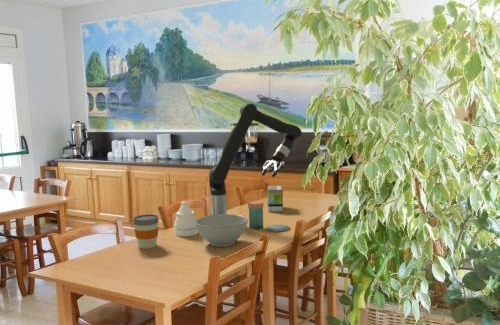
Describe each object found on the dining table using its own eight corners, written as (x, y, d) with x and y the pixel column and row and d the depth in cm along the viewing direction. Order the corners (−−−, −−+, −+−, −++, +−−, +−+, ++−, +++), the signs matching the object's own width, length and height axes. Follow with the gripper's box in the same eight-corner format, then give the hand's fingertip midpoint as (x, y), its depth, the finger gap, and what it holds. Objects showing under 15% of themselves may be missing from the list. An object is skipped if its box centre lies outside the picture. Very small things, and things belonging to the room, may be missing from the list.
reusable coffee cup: (135, 250, 245) (133, 221, 243) (134, 243, 257) (132, 215, 255) (161, 248, 248) (159, 218, 246) (158, 241, 260) (157, 213, 258)
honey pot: (193, 236, 267) (192, 204, 265) (171, 235, 270) (169, 203, 268) (200, 230, 280) (199, 199, 278) (179, 229, 282) (177, 198, 280)
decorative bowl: (237, 233, 271) (236, 212, 269) (256, 246, 246) (255, 222, 245) (189, 240, 261) (188, 217, 259) (205, 254, 236) (204, 229, 234)
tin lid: (255, 211, 276) (255, 204, 275) (248, 209, 280) (247, 203, 280) (263, 209, 280) (263, 202, 279) (256, 208, 284) (256, 201, 284)
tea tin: (256, 229, 278) (255, 208, 276) (249, 227, 282) (248, 207, 280) (263, 227, 281) (262, 207, 280) (256, 226, 285) (256, 205, 284)
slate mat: (272, 233, 269) (272, 231, 269) (263, 227, 281) (263, 226, 281) (293, 230, 274) (293, 228, 274) (283, 225, 286) (283, 223, 286)
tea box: (283, 211, 319) (283, 189, 318) (267, 212, 320) (267, 189, 318) (282, 206, 334) (282, 185, 332) (267, 207, 335) (267, 185, 333)
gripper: (269, 149, 298) (255, 170, 292) (286, 151, 287) (272, 172, 281) (275, 157, 302) (262, 178, 296) (292, 159, 291) (279, 180, 285)
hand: (267, 175), depth 288 cm, fingers open, 8 cm apart
